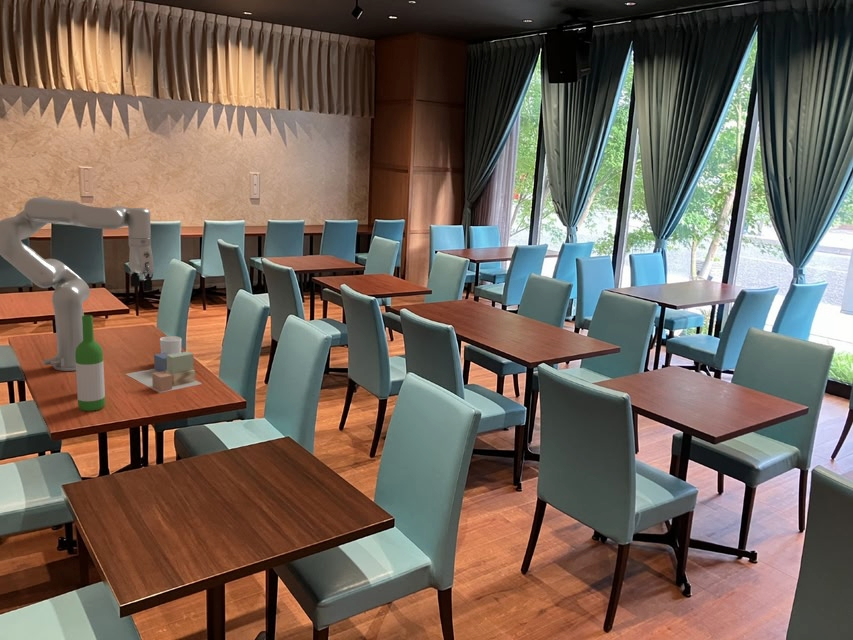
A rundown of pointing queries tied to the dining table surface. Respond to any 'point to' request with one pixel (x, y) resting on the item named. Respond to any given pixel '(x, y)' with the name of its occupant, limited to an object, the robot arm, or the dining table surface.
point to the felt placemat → (146, 379)
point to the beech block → (182, 377)
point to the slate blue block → (160, 362)
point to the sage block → (179, 362)
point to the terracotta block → (162, 381)
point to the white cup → (170, 344)
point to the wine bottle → (89, 369)
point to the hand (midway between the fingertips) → (141, 288)
